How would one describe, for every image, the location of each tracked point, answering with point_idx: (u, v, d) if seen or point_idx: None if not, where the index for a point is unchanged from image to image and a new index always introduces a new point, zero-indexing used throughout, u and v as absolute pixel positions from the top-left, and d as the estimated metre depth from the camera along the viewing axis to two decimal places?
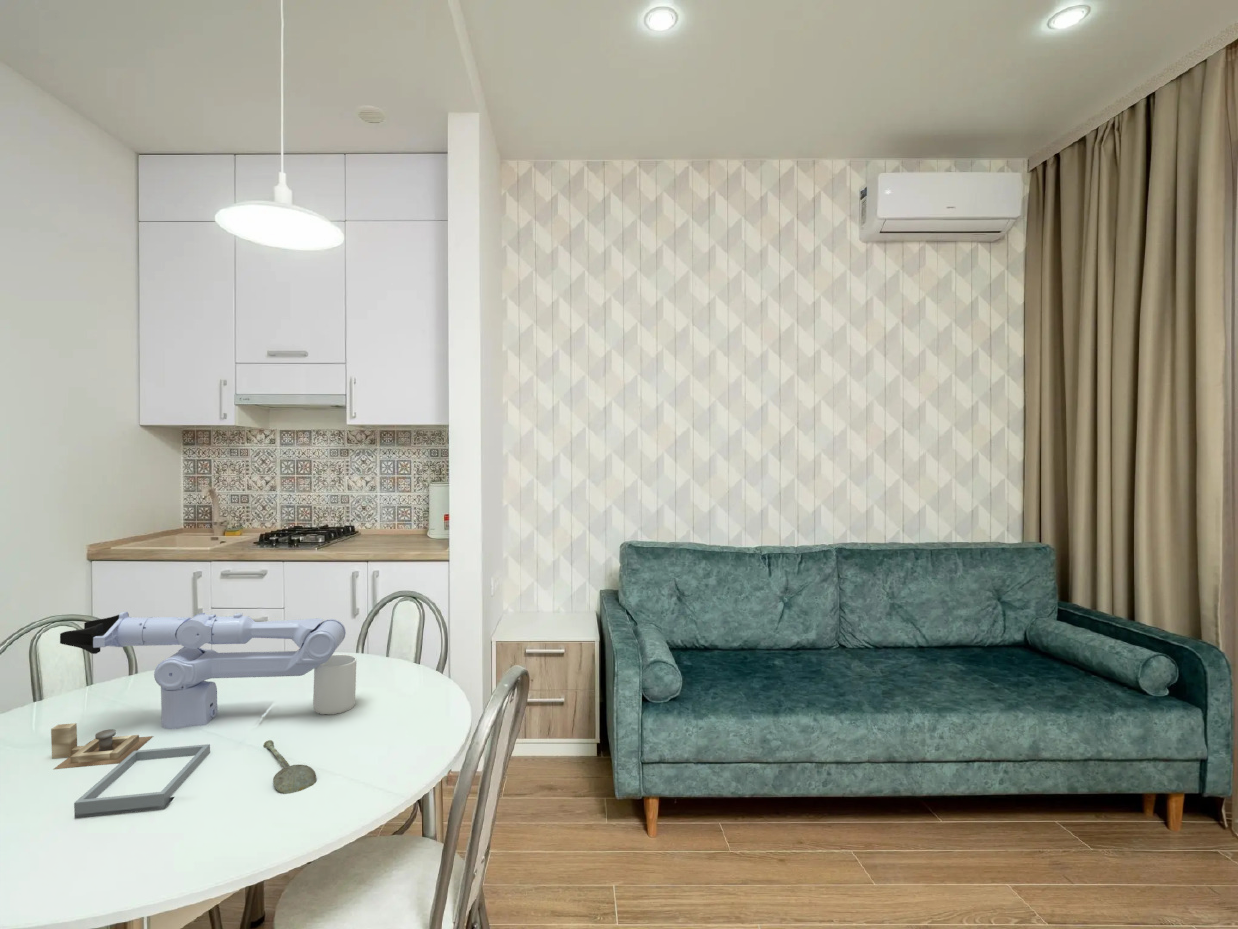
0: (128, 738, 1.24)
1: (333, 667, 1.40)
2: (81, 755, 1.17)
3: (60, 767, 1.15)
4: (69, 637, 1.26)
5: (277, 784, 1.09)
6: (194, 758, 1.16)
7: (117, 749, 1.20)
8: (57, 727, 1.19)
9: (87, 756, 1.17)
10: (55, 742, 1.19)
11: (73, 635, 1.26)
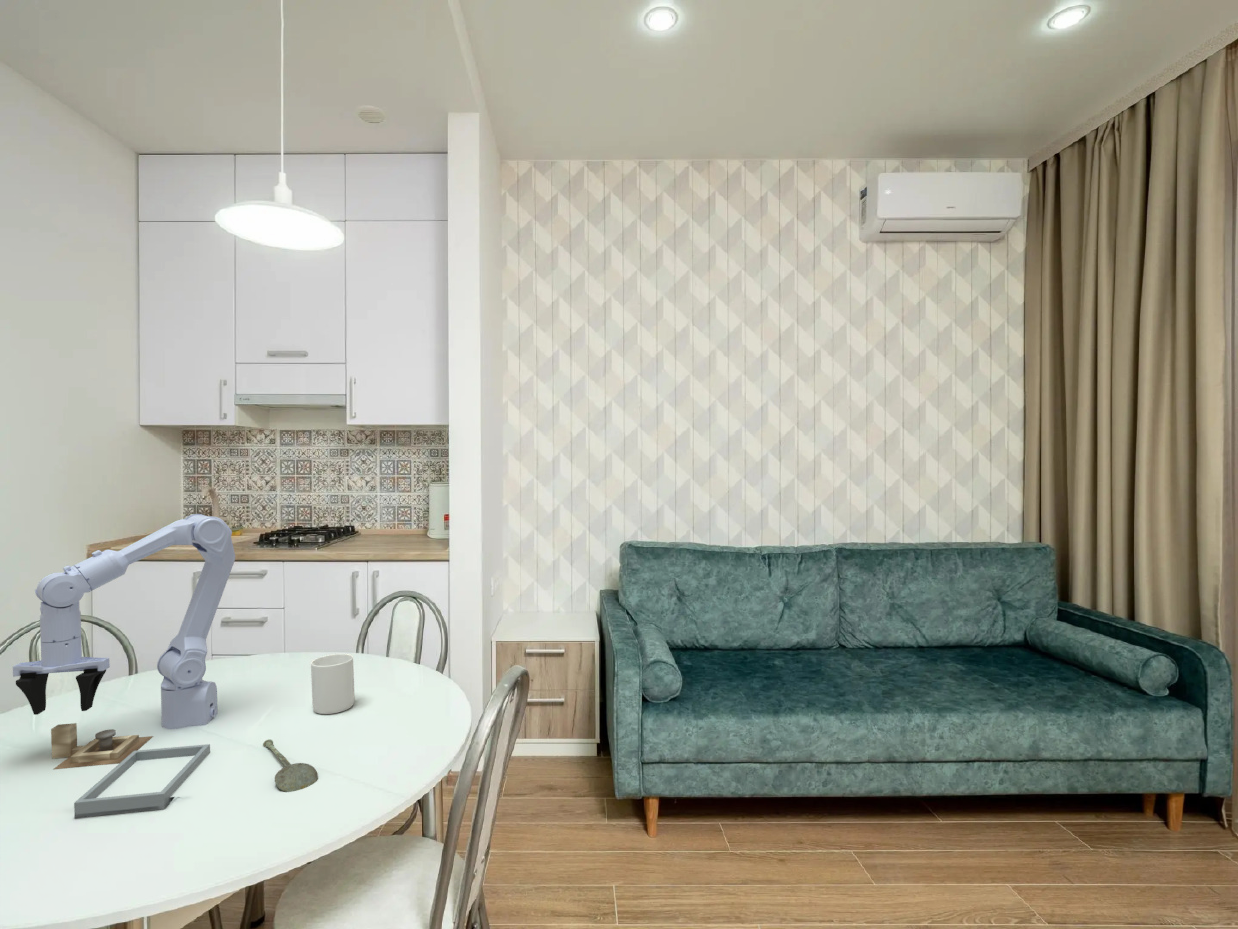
0: (128, 738, 1.24)
1: (329, 667, 1.40)
2: (81, 755, 1.17)
3: (60, 767, 1.15)
4: (88, 700, 1.20)
5: (279, 783, 1.10)
6: (194, 758, 1.16)
7: (117, 749, 1.20)
8: (57, 727, 1.19)
9: (87, 756, 1.17)
10: (55, 742, 1.19)
11: (87, 697, 1.20)
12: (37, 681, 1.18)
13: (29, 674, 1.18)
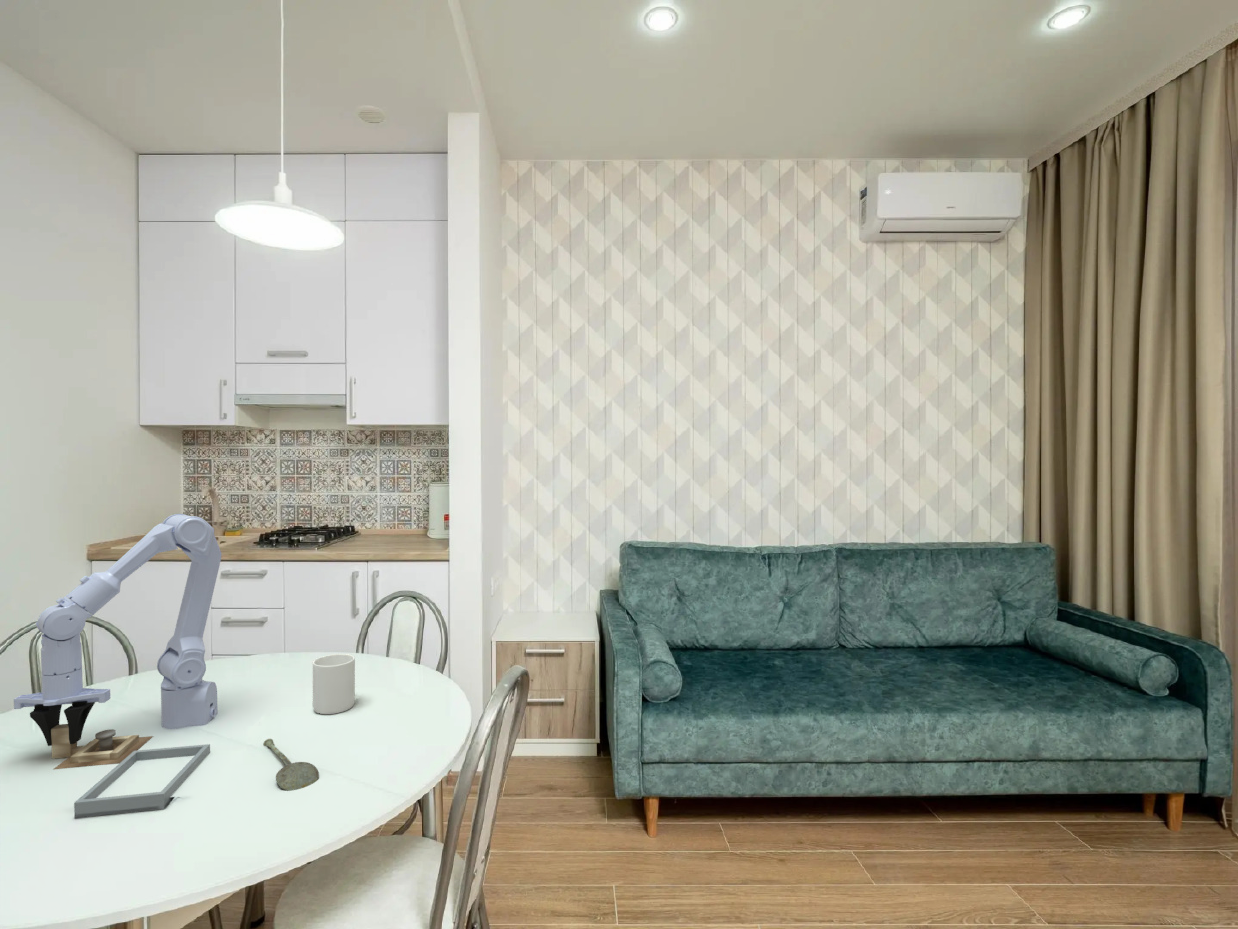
0: (128, 738, 1.24)
1: (330, 667, 1.40)
2: (81, 755, 1.17)
3: (60, 767, 1.15)
4: (77, 733, 1.20)
5: (281, 781, 1.10)
6: (194, 758, 1.16)
7: (117, 749, 1.20)
8: (57, 727, 1.19)
9: (87, 756, 1.17)
10: (55, 742, 1.19)
11: (76, 730, 1.20)
12: (51, 712, 1.19)
13: (43, 706, 1.18)
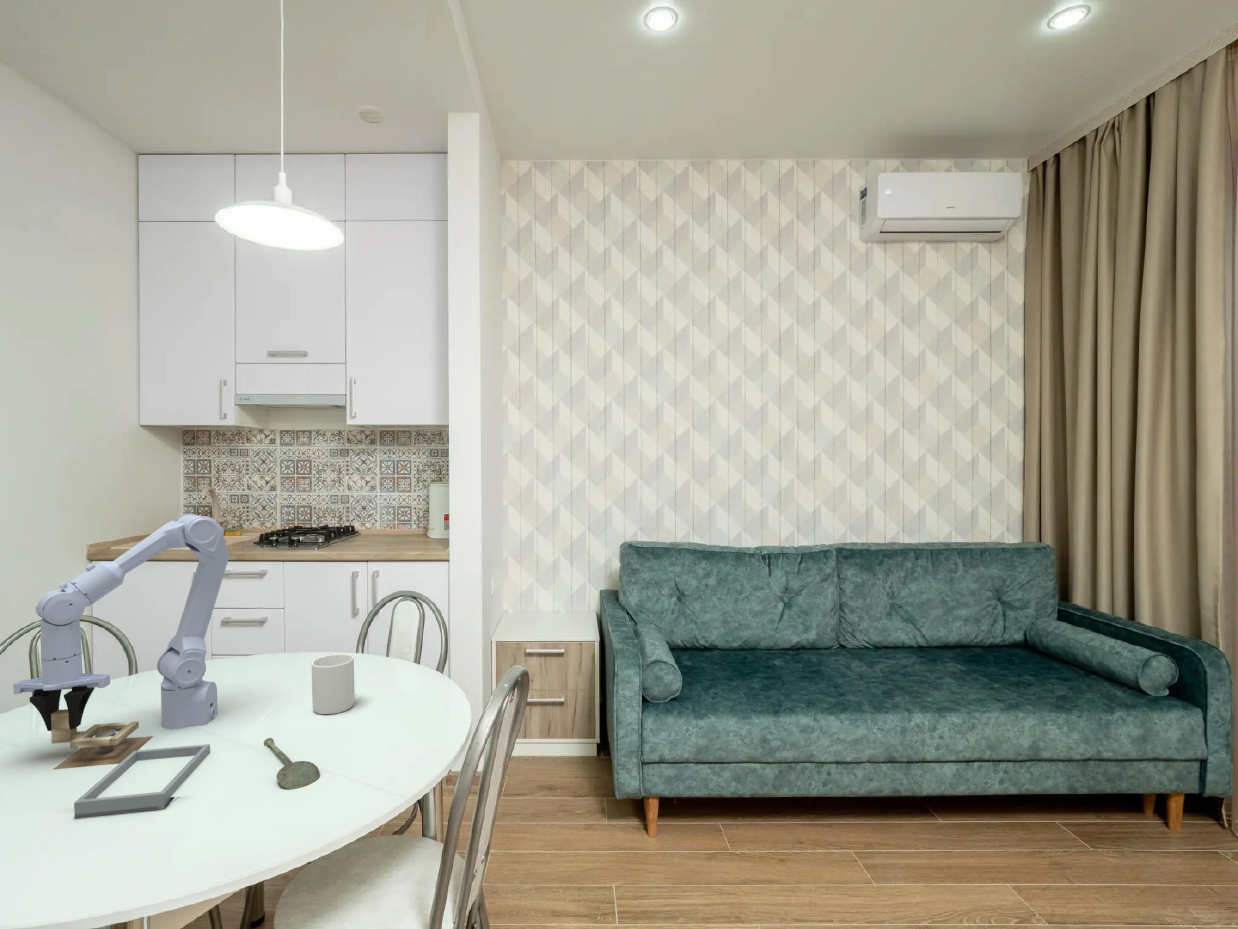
0: (128, 724, 1.24)
1: (329, 667, 1.39)
2: (81, 740, 1.17)
3: (60, 767, 1.15)
4: (77, 718, 1.20)
5: (282, 780, 1.11)
6: (194, 758, 1.16)
7: (117, 735, 1.20)
8: (57, 712, 1.19)
9: (87, 741, 1.17)
10: (55, 727, 1.19)
11: (75, 715, 1.20)
12: (51, 697, 1.19)
13: (43, 691, 1.18)
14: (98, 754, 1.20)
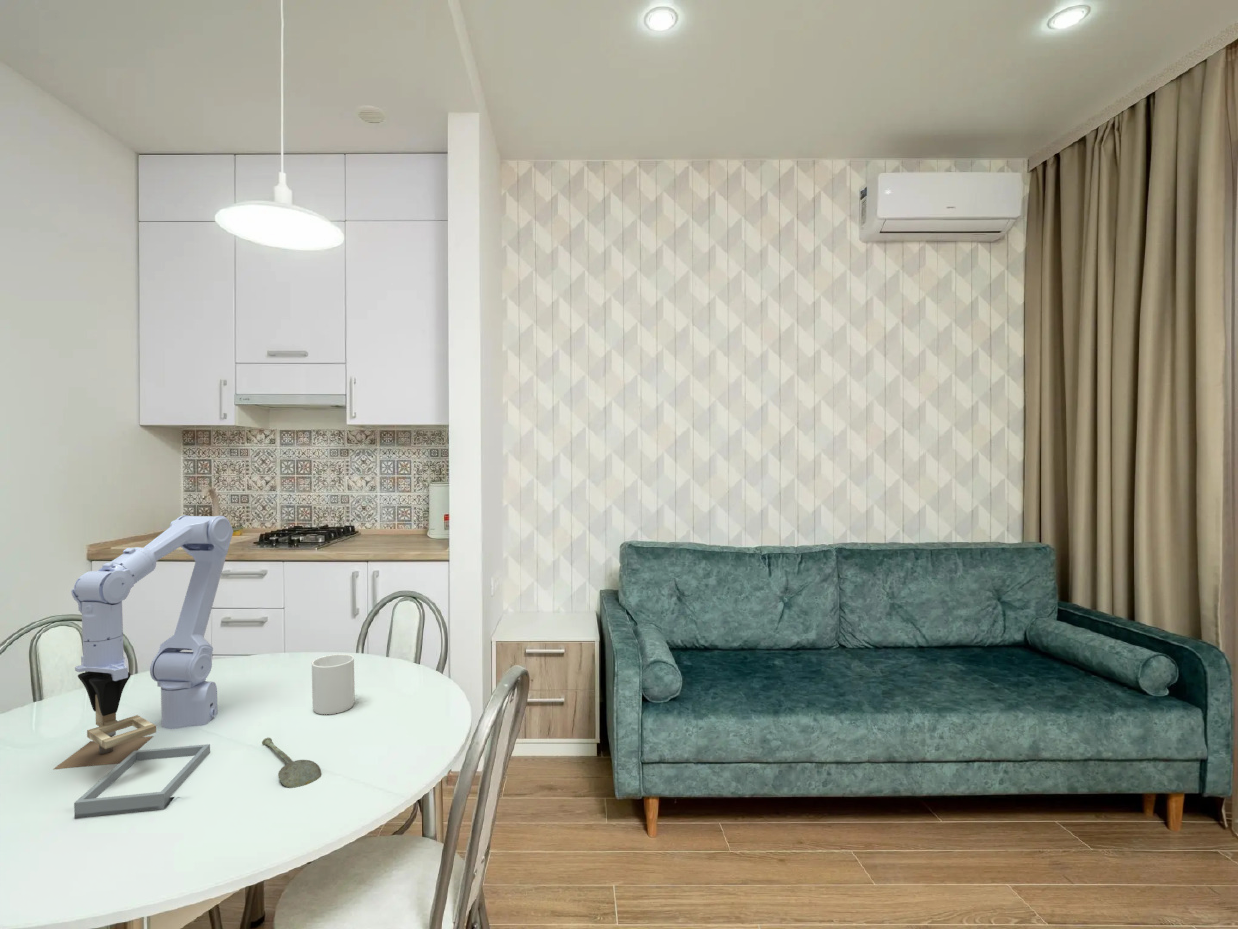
0: (144, 726, 1.14)
1: (329, 667, 1.39)
2: (92, 732, 1.12)
3: (60, 767, 1.15)
4: (108, 705, 1.15)
5: (283, 779, 1.11)
6: (194, 758, 1.16)
7: (114, 737, 1.10)
8: None
9: (93, 735, 1.11)
10: (97, 709, 1.17)
11: (106, 702, 1.15)
12: None
13: None
14: (98, 754, 1.20)
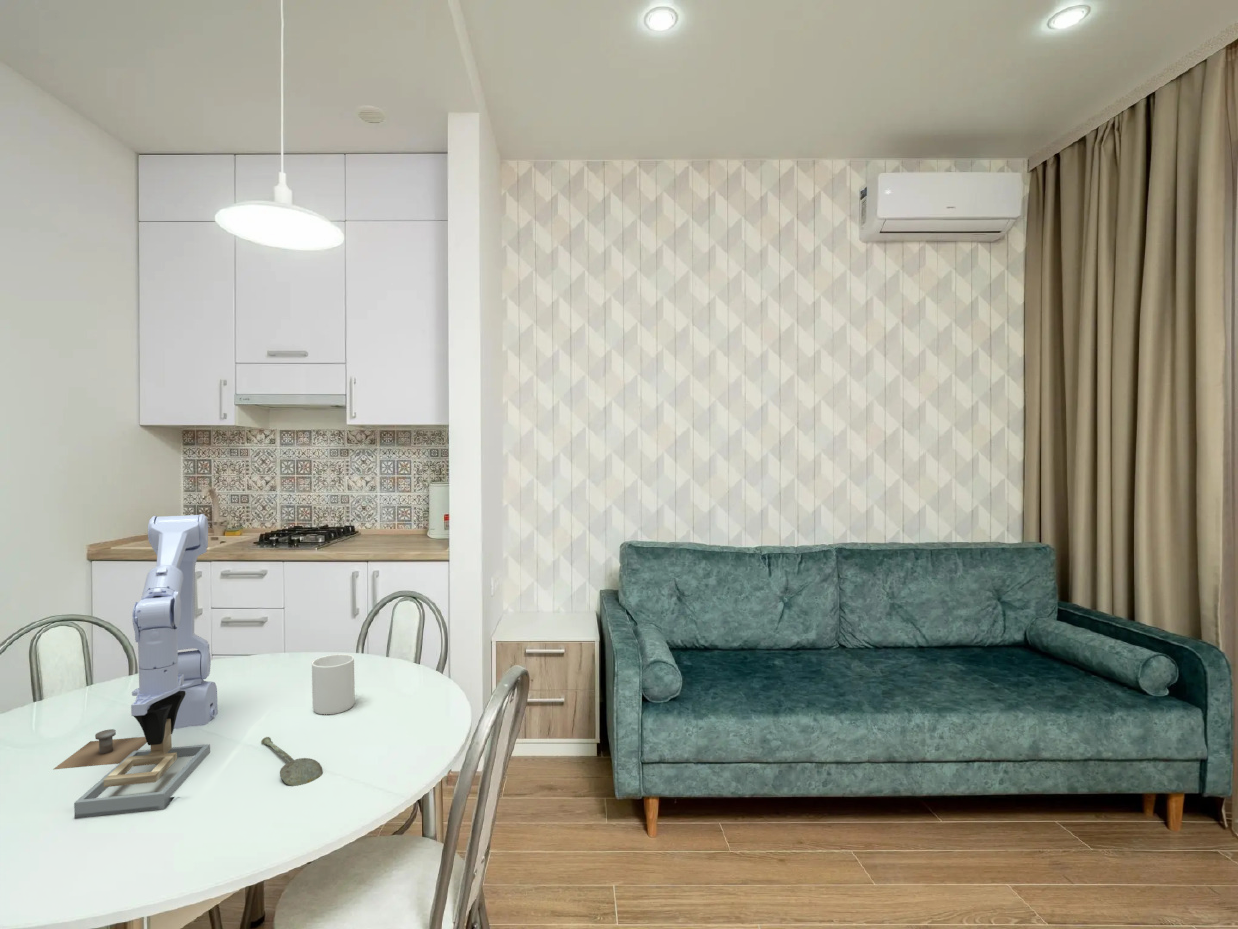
0: (149, 772, 1.07)
1: (329, 667, 1.39)
2: (125, 761, 1.10)
3: (60, 767, 1.15)
4: (152, 735, 1.13)
5: (285, 777, 1.12)
6: (194, 758, 1.16)
7: (116, 776, 1.06)
8: None
9: None
10: None
11: (149, 732, 1.13)
12: (161, 703, 1.17)
13: None
14: (98, 754, 1.20)
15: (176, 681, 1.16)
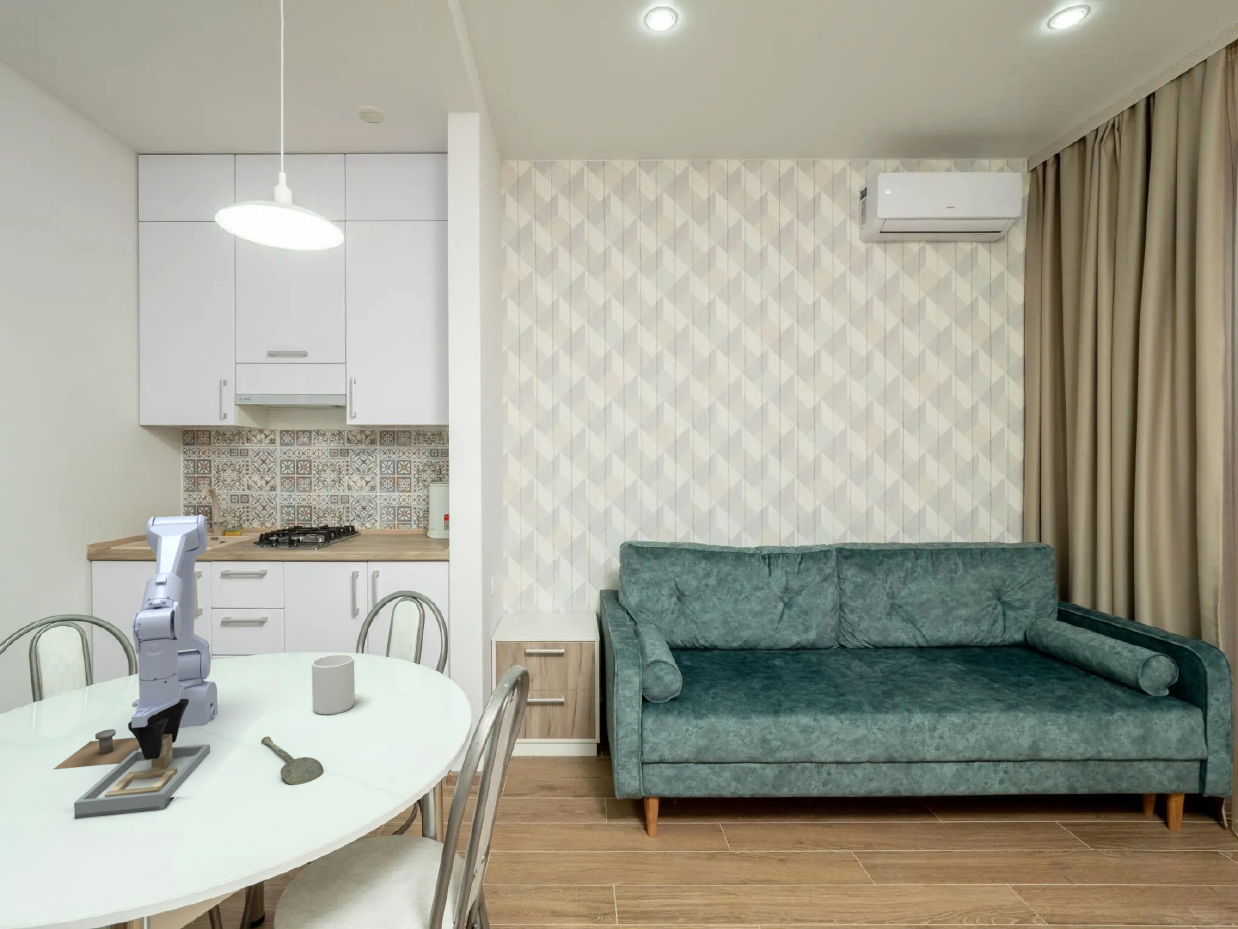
0: (150, 787, 1.07)
1: (329, 667, 1.39)
2: (126, 776, 1.11)
3: (60, 767, 1.15)
4: (148, 750, 1.12)
5: (286, 776, 1.12)
6: (194, 758, 1.16)
7: (117, 791, 1.06)
8: (163, 735, 1.17)
9: None
10: None
11: (146, 746, 1.12)
12: (164, 711, 1.18)
13: None
14: (98, 754, 1.20)
15: (176, 692, 1.16)
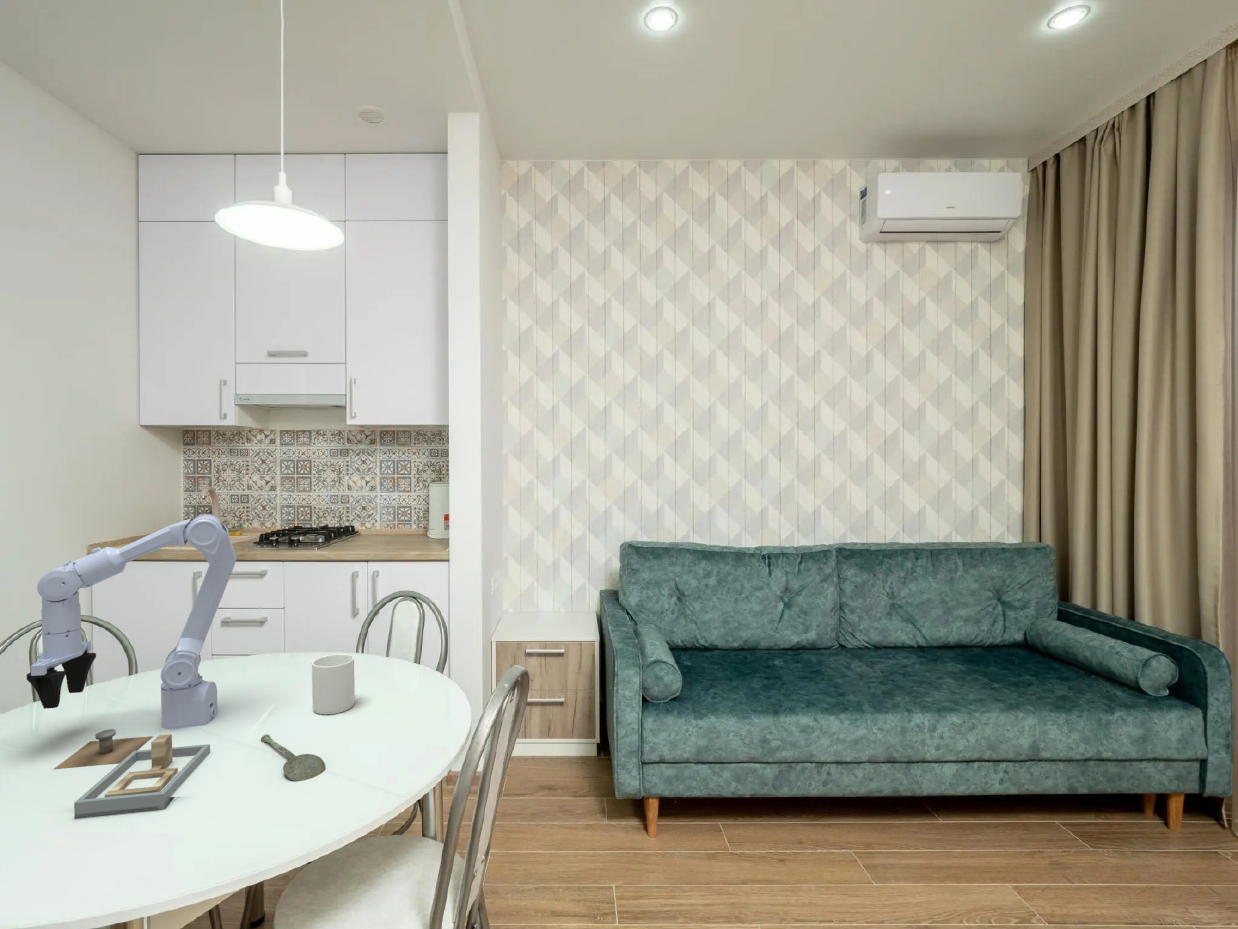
0: (150, 787, 1.07)
1: (329, 667, 1.39)
2: (126, 776, 1.11)
3: (60, 767, 1.15)
4: (47, 699, 1.21)
5: (289, 773, 1.13)
6: (194, 758, 1.16)
7: (117, 791, 1.06)
8: (163, 735, 1.17)
9: None
10: None
11: (44, 696, 1.20)
12: (72, 663, 1.28)
13: None
14: (98, 754, 1.20)
15: (78, 646, 1.25)
